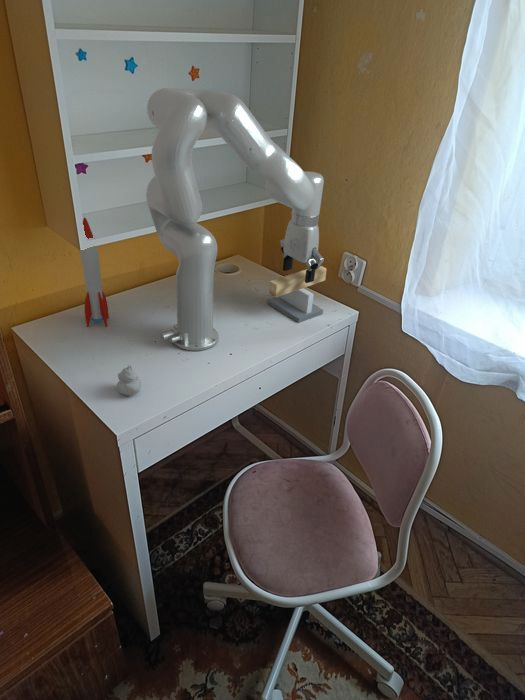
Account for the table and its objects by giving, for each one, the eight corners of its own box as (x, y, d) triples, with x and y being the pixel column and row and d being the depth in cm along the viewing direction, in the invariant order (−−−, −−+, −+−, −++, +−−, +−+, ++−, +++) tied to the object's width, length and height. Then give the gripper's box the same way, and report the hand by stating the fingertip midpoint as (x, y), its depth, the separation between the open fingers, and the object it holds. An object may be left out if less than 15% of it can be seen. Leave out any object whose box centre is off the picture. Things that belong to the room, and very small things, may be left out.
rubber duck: (127, 402, 112) (124, 373, 108) (110, 389, 116) (107, 360, 111) (147, 393, 115) (145, 364, 111) (131, 380, 119) (128, 352, 115)
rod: (275, 297, 144) (276, 285, 142) (269, 293, 146) (270, 281, 144) (325, 280, 155) (326, 268, 153) (318, 276, 157) (319, 265, 155)
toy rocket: (107, 327, 138) (95, 221, 122) (86, 327, 137) (71, 221, 121) (109, 317, 143) (98, 214, 127) (89, 317, 142) (75, 213, 126)
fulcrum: (298, 322, 147) (301, 300, 143) (268, 304, 156) (270, 282, 152) (322, 314, 153) (325, 292, 149) (292, 296, 162) (294, 275, 157)
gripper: (274, 212, 142) (269, 267, 151) (317, 230, 131) (308, 289, 141) (294, 208, 146) (288, 263, 156) (336, 226, 136) (327, 284, 145)
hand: (298, 275), depth 148 cm, fingers open, 9 cm apart
